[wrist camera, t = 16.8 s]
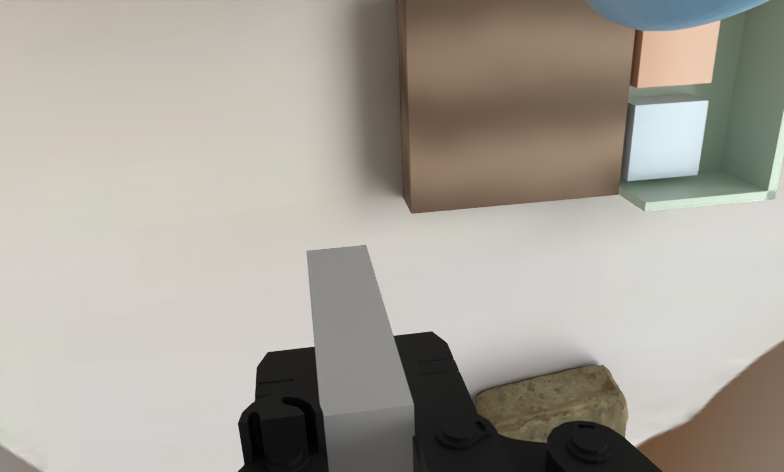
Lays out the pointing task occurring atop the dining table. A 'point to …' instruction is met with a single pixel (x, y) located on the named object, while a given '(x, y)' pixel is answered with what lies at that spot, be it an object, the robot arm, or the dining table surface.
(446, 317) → the dining table surface
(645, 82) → the tile terracotta
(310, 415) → the robot arm
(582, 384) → the stone block
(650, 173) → the pale blue square block
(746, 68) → the tray
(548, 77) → the board
